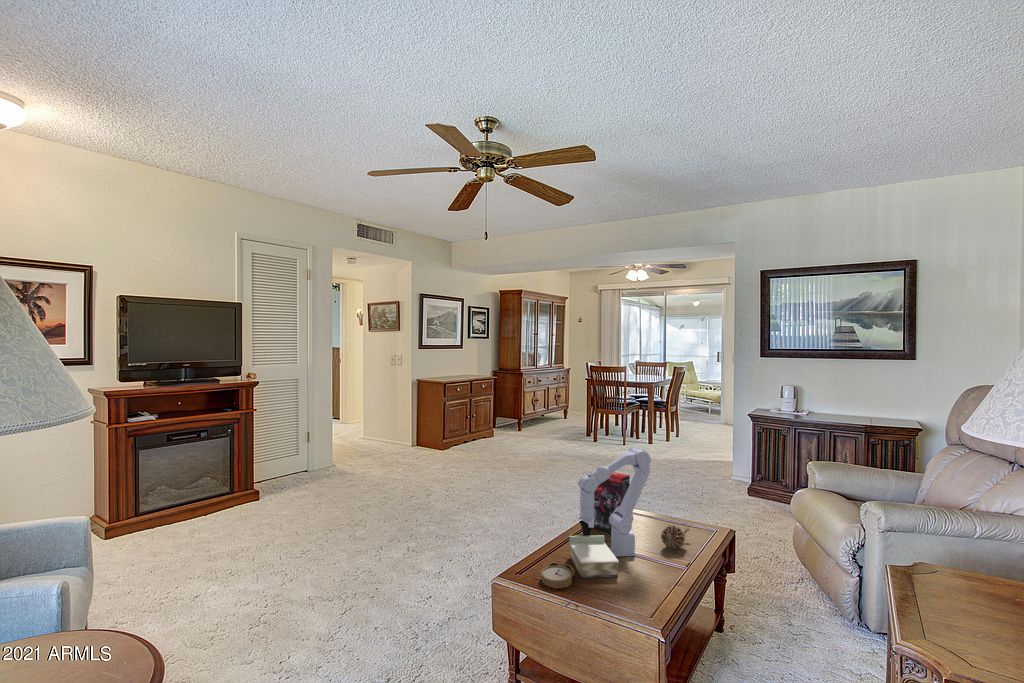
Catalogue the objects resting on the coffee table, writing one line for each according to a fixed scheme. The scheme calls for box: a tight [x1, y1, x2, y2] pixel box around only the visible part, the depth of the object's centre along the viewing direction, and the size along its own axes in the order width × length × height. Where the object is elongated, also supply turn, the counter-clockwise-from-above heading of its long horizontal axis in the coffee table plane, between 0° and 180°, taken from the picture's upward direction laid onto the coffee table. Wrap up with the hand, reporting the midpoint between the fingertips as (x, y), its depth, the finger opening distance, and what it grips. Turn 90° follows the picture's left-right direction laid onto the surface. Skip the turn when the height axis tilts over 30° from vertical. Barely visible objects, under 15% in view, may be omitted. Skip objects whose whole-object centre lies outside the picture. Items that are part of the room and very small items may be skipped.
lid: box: [569, 534, 620, 564], centre depth 199 cm, size 14×20×6 cm
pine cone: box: [660, 524, 691, 550], centre depth 223 cm, size 22×10×10 cm, turn 140°
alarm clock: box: [540, 561, 575, 589], centre depth 187 cm, size 11×5×15 cm
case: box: [569, 547, 619, 579], centre depth 199 cm, size 14×18×5 cm
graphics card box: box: [592, 471, 631, 534], centre depth 239 cm, size 17×7×27 cm, turn 43°
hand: (586, 539), depth 209 cm, fingers closed
